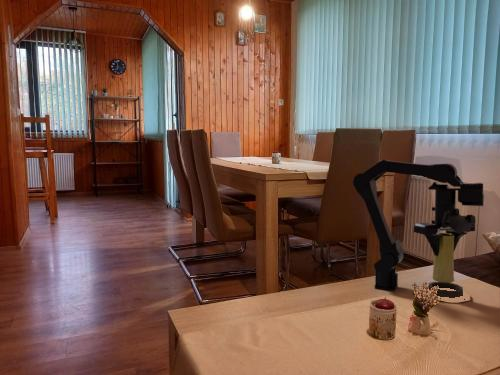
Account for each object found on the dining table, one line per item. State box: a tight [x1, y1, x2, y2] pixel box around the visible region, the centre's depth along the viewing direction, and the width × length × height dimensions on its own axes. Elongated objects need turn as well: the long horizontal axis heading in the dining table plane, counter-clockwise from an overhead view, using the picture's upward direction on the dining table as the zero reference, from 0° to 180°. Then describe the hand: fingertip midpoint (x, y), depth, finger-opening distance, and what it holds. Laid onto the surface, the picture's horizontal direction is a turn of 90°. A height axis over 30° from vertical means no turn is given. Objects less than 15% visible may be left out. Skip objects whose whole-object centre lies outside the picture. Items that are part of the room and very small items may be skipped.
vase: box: [432, 232, 455, 283], centre depth 127 cm, size 6×6×14 cm
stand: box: [428, 281, 465, 300], centre depth 128 cm, size 14×14×3 cm
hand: (443, 254), depth 127 cm, fingers closed on vase, 5 cm apart
